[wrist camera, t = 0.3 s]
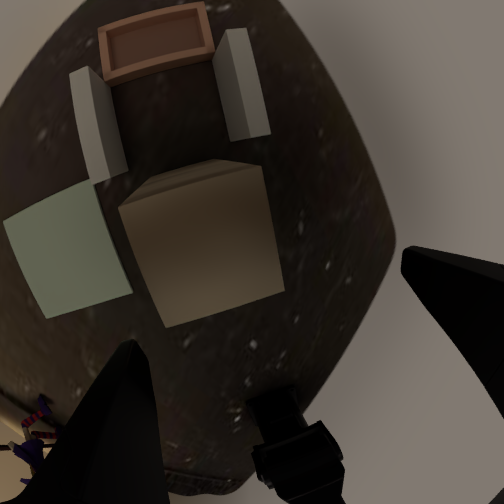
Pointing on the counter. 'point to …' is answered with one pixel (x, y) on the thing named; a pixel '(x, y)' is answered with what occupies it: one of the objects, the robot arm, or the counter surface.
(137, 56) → the tray
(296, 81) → the counter surface
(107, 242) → the green mat
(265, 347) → the counter surface
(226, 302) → the beech post
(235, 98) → the channel
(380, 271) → the counter surface
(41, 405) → the toy
